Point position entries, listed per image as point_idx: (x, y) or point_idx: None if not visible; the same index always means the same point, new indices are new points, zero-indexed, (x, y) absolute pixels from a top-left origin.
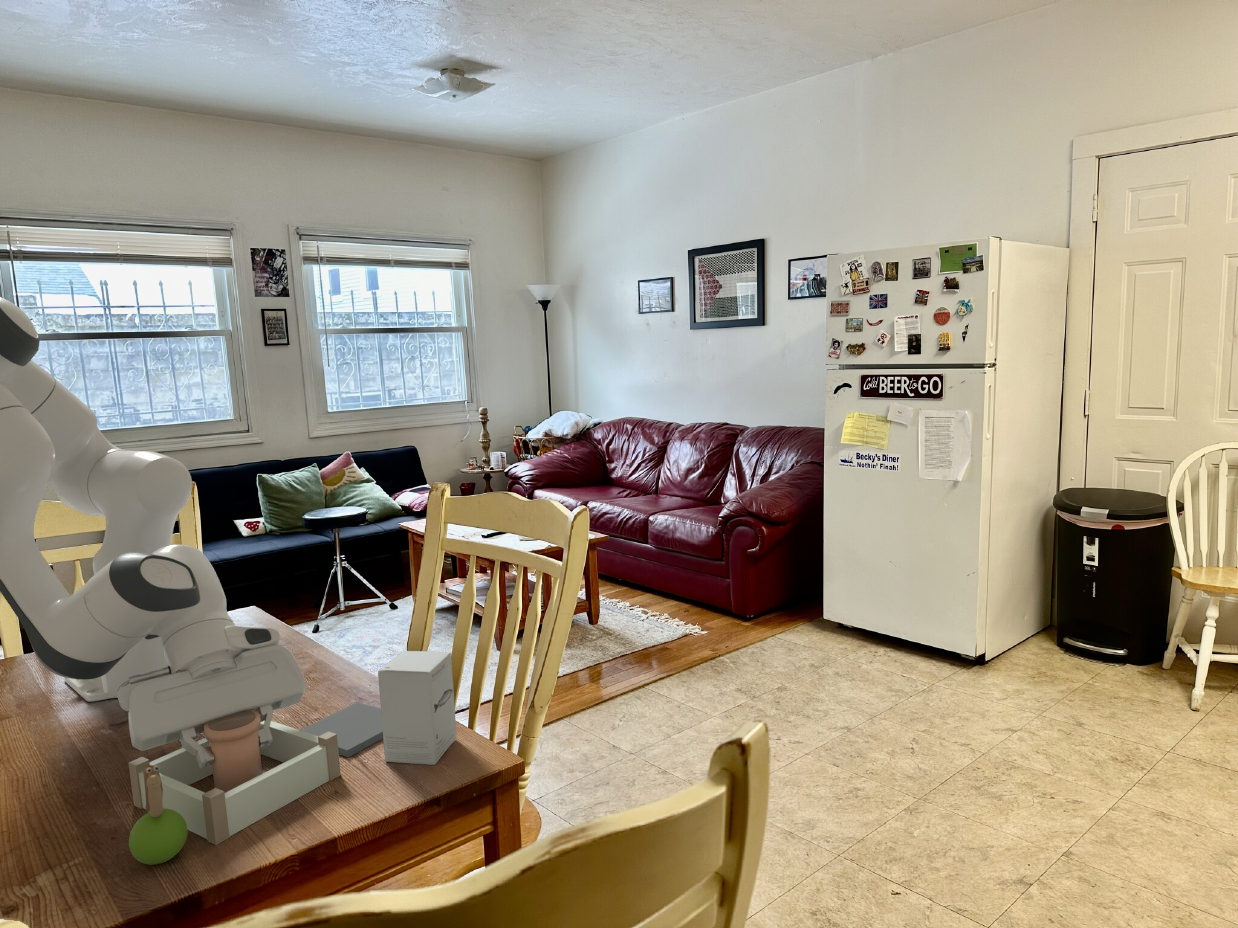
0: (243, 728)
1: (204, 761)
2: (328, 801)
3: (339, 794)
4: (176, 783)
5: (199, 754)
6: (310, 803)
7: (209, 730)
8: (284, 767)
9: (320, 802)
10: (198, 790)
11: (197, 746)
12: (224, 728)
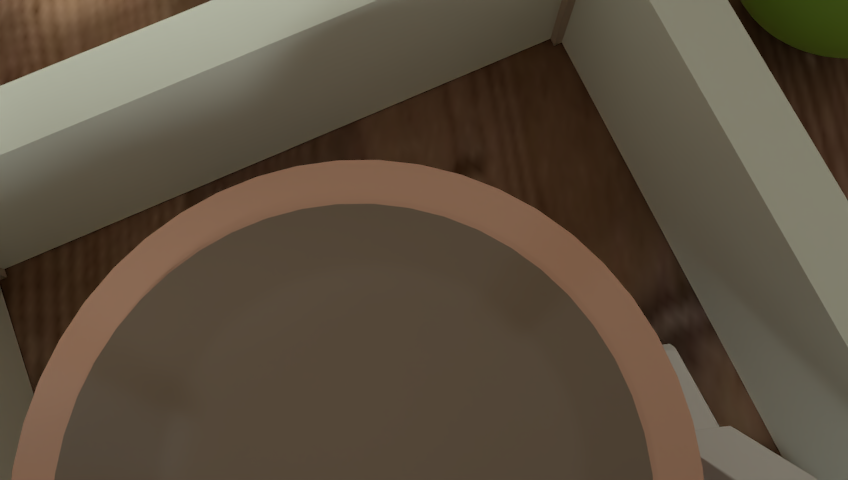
0: (284, 176)
1: None
2: (74, 25)
3: (9, 55)
4: (827, 262)
5: (694, 387)
6: None
7: (645, 373)
8: (154, 34)
9: (106, 38)
10: (690, 61)
11: (725, 454)
12: (481, 253)
